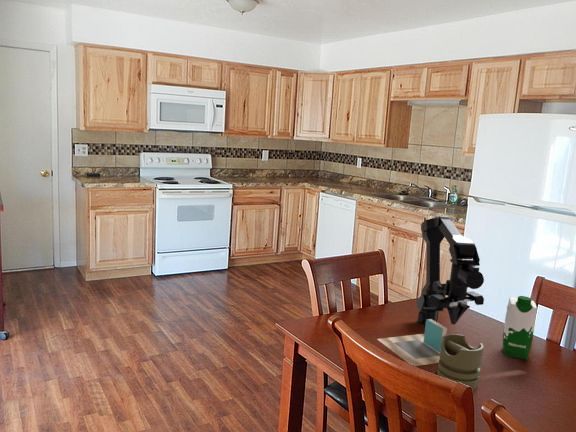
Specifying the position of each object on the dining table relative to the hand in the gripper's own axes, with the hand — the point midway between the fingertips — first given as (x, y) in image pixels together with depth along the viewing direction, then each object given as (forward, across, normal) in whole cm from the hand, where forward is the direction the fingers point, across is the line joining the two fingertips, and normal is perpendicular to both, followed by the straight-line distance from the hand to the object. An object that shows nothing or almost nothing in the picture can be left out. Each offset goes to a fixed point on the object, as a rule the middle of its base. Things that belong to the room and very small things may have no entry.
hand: (453, 324), depth 167 cm
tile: (+7, +7, 0) cm, 10 cm away
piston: (+8, +14, +19) cm, 25 cm away
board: (+8, +12, 0) cm, 14 cm away
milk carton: (+9, -20, +9) cm, 23 cm away
